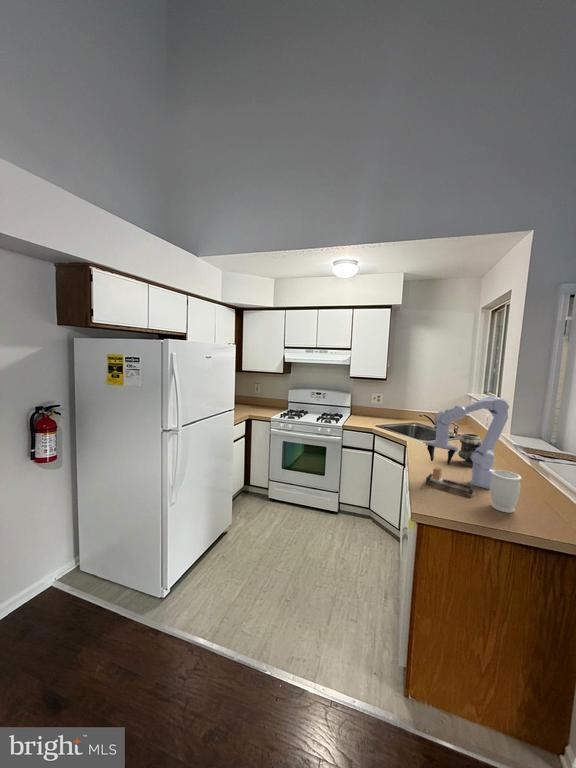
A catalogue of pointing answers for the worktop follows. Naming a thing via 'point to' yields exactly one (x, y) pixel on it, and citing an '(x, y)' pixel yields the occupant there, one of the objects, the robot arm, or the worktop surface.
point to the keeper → (437, 475)
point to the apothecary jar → (468, 448)
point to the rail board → (452, 487)
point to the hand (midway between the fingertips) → (440, 462)
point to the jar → (504, 490)
